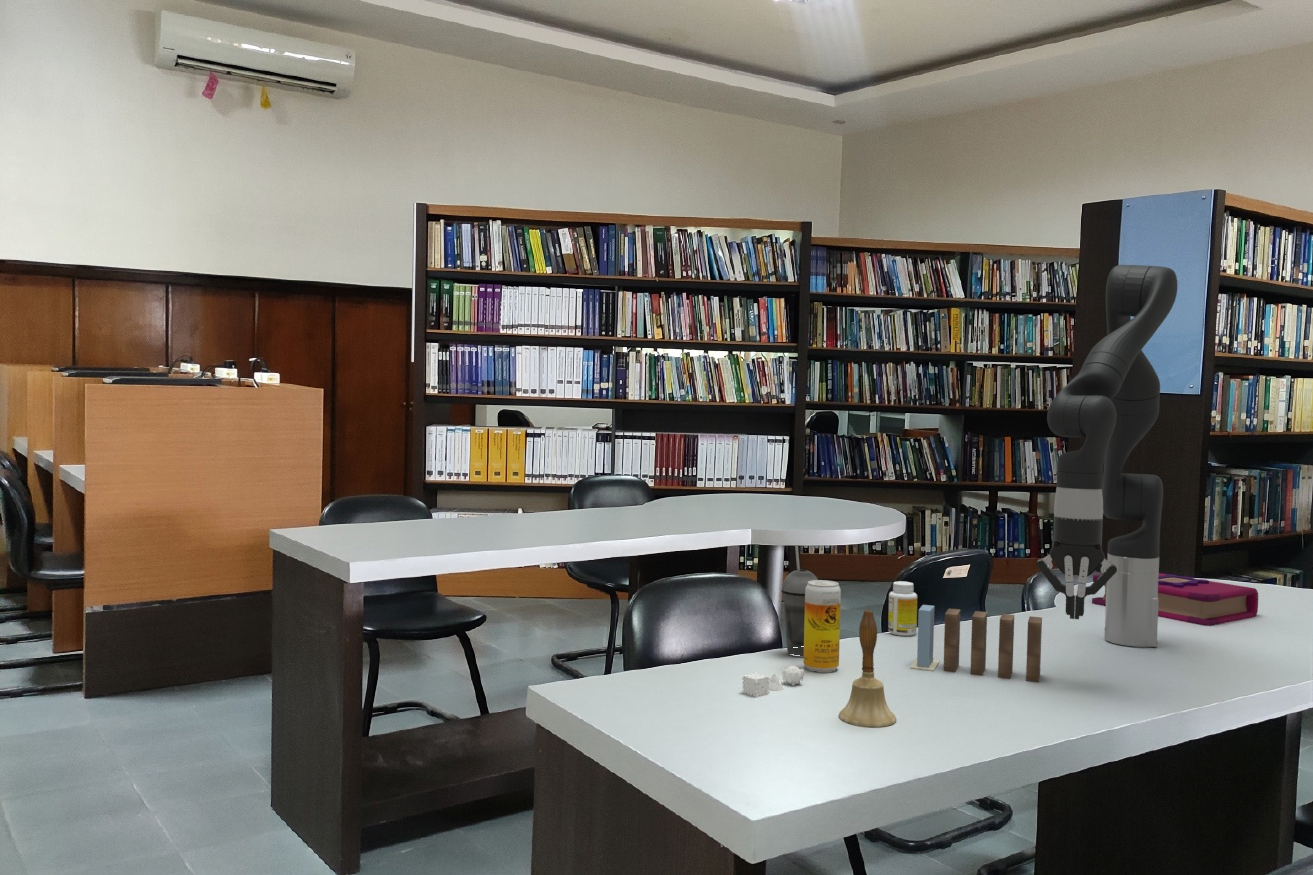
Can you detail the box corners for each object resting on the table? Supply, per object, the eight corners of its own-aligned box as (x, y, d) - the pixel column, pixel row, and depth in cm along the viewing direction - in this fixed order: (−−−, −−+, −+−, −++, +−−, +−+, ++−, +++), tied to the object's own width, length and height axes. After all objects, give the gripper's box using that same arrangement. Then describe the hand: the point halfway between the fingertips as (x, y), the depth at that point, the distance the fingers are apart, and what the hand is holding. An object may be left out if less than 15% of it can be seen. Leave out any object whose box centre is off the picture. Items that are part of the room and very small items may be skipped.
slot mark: (939, 661, 182) (939, 660, 182) (933, 670, 175) (933, 669, 175) (916, 659, 183) (916, 657, 183) (910, 668, 177) (910, 667, 177)
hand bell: (860, 730, 143) (863, 618, 142) (827, 713, 150) (830, 606, 150) (908, 724, 146) (911, 614, 146) (873, 707, 154) (876, 603, 153)
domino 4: (1012, 671, 176) (1014, 614, 175) (1010, 678, 171) (1012, 620, 171) (1000, 670, 177) (1002, 613, 176) (997, 677, 172) (999, 619, 172)
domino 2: (958, 665, 179) (960, 609, 179) (955, 672, 175) (956, 614, 174) (947, 664, 180) (948, 608, 180) (943, 670, 176) (944, 613, 175)
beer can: (817, 674, 171) (819, 587, 171) (796, 666, 177) (798, 581, 176) (846, 671, 174) (848, 584, 174) (824, 662, 180) (826, 578, 179)
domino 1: (932, 661, 181) (934, 605, 181) (928, 667, 176) (930, 610, 176) (921, 659, 182) (923, 604, 181) (917, 666, 177) (918, 609, 177)
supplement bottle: (922, 634, 203) (923, 583, 203) (904, 638, 200) (906, 586, 199) (899, 629, 207) (900, 579, 207) (882, 632, 204) (883, 582, 203)
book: (1140, 596, 250) (1141, 566, 250) (1258, 618, 227) (1259, 584, 226) (1088, 604, 239) (1090, 572, 238) (1207, 628, 215) (1209, 593, 215)
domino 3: (985, 668, 178) (987, 612, 177) (982, 675, 173) (984, 617, 173) (973, 667, 178) (975, 611, 178) (970, 674, 174) (972, 616, 173)
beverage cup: (810, 661, 180) (813, 549, 179) (773, 655, 184) (775, 546, 183) (826, 653, 186) (828, 545, 186) (789, 647, 190) (792, 541, 189)
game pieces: (756, 700, 158) (756, 679, 158) (741, 695, 160) (741, 675, 160) (807, 685, 166) (807, 666, 165) (792, 681, 168) (792, 662, 168)
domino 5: (1040, 675, 174) (1042, 617, 174) (1038, 682, 169) (1040, 623, 169) (1027, 673, 175) (1029, 616, 174) (1026, 680, 170) (1027, 621, 170)
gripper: (1034, 514, 168) (1031, 618, 168) (1122, 519, 162) (1118, 626, 163) (1036, 510, 175) (1033, 610, 175) (1121, 515, 169) (1117, 618, 170)
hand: (1074, 618), depth 169 cm, fingers closed
